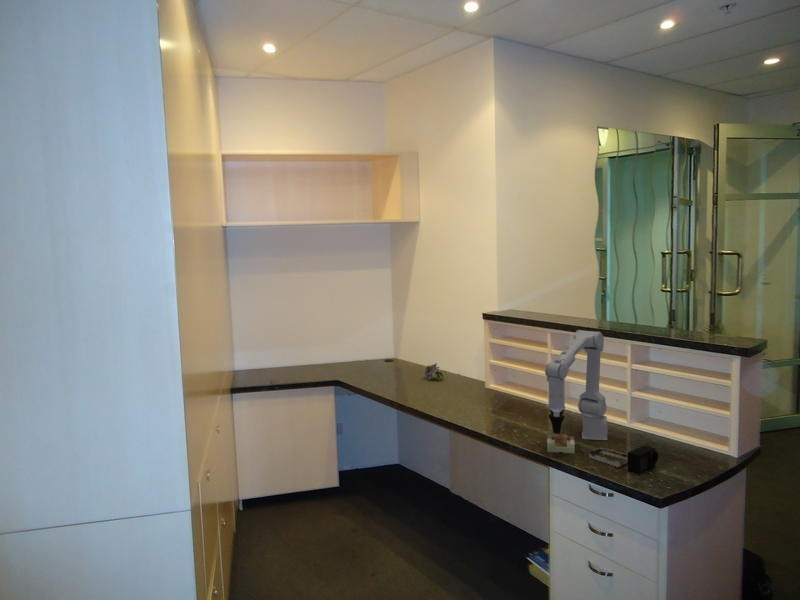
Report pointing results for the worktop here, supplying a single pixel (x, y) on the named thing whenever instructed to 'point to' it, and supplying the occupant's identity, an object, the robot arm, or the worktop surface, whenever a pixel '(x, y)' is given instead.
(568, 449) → the board
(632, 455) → the digital camera
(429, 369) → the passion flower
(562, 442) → the block
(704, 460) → the worktop surface
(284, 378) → the worktop surface
